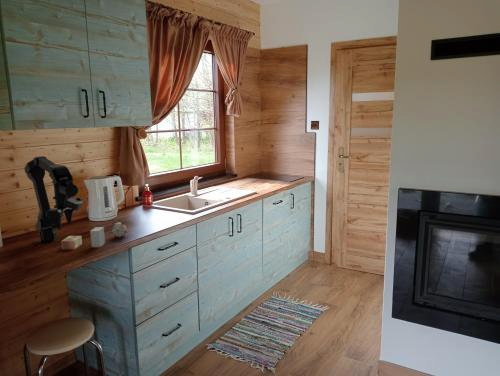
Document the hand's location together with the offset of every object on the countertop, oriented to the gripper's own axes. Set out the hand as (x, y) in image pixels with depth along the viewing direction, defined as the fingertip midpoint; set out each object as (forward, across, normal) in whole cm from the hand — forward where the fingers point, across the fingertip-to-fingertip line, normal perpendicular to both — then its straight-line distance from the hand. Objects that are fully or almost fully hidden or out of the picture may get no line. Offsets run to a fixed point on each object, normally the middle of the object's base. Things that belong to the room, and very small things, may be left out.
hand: (64, 226), depth 190 cm
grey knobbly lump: (+11, +18, -18) cm, 28 cm away
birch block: (+9, 0, -1) cm, 9 cm away
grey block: (+11, +6, -13) cm, 18 cm away
